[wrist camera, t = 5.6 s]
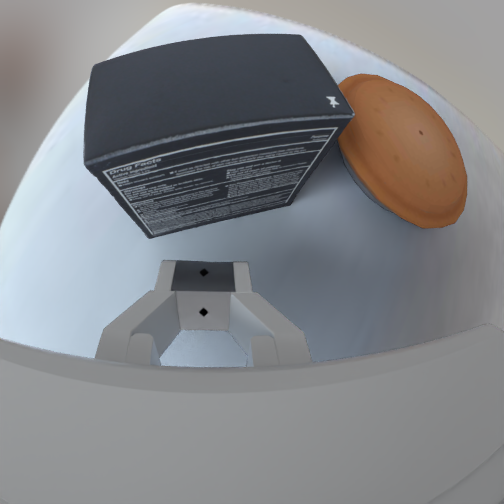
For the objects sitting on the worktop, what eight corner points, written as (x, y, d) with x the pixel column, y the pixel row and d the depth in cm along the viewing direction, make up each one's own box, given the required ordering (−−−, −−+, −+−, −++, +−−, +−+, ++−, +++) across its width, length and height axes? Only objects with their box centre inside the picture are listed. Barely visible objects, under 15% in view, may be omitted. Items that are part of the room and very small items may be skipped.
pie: (445, 258, 21) (483, 248, 16) (302, 204, 20) (329, 175, 15) (437, 135, 24) (462, 115, 19) (323, 76, 23) (340, 43, 18)
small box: (266, 133, 20) (304, 29, 10) (293, 206, 19) (365, 120, 9) (134, 160, 18) (89, 58, 8) (146, 242, 17) (79, 172, 7)
